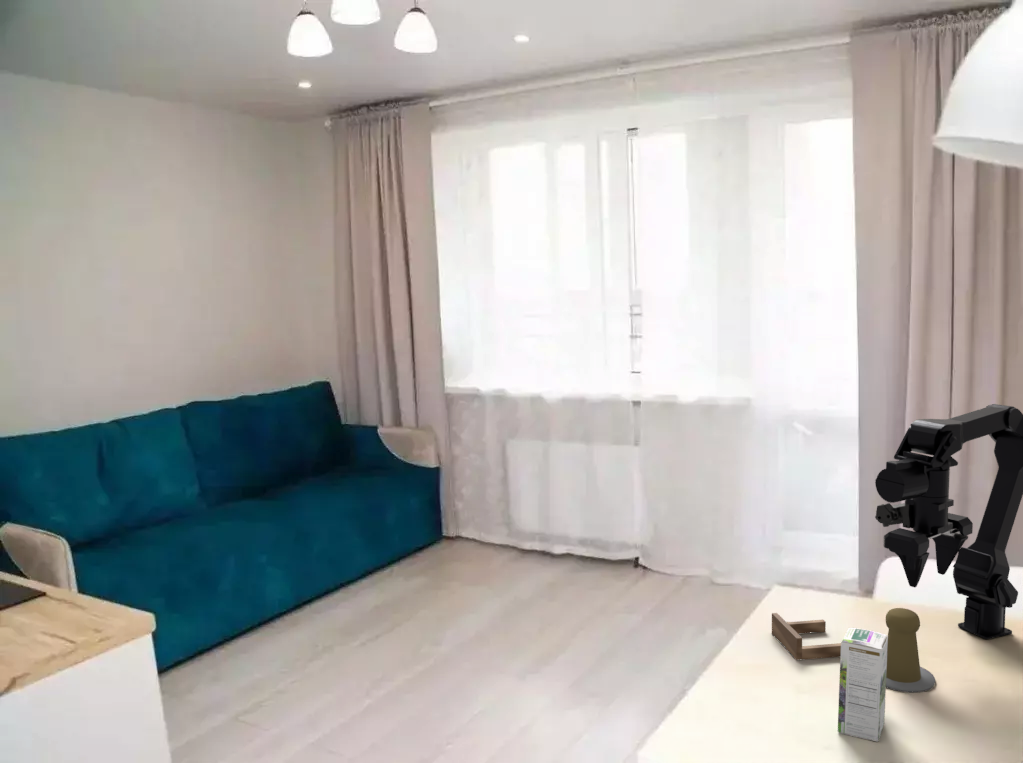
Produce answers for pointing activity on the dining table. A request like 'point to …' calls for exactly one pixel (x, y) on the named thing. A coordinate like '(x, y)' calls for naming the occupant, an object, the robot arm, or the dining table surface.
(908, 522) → the robot arm
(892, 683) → the coaster
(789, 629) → the holder
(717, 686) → the dining table surface
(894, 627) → the cork
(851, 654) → the syrup box
